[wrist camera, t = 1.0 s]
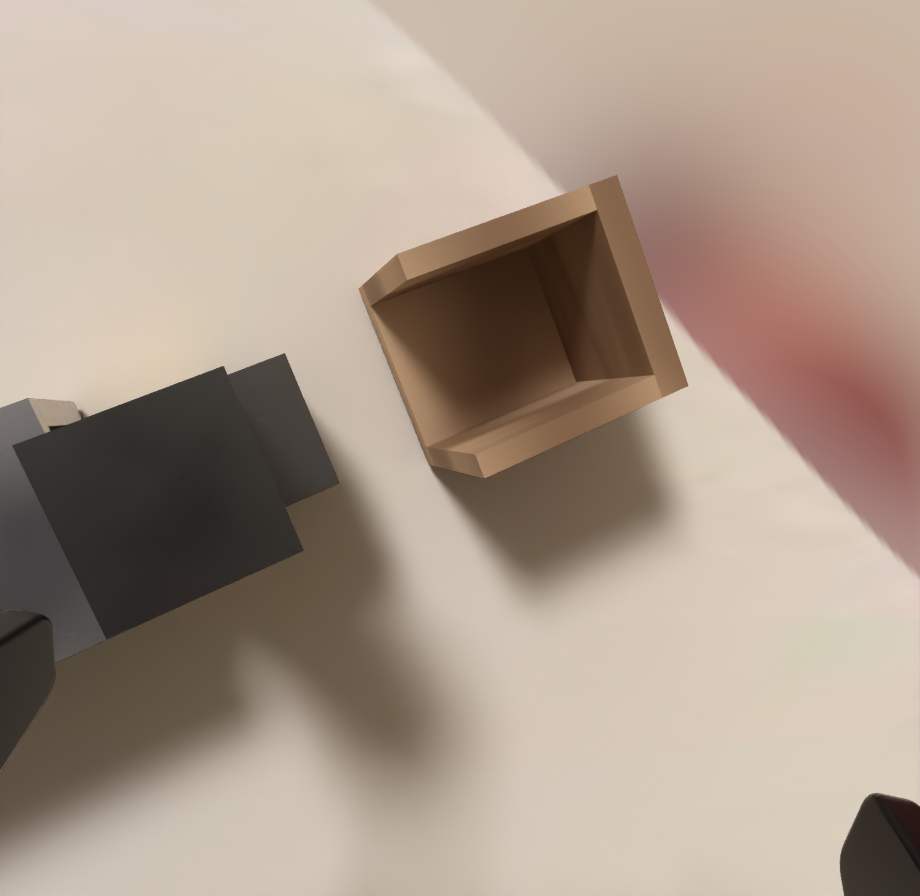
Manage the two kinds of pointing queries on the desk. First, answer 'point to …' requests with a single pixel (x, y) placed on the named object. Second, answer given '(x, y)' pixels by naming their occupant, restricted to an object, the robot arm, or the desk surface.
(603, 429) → the desk surface
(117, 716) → the desk surface
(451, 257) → the socket
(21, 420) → the sleeve
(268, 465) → the slider
